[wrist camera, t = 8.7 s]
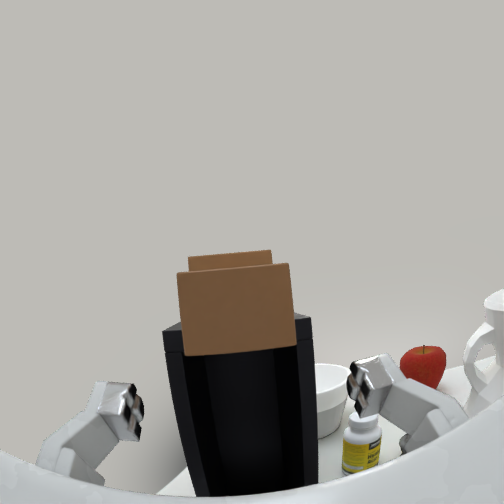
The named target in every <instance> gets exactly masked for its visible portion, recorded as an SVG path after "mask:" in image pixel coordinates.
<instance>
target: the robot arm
mask: <svg viewBox="0 0 504 504" xmlns="http://www.w3.org/2000/svg"><path fill="white" fill-rule="evenodd" d="M350 371H351V373H350V375H349V376H348V377H347V381H346V387H347V392H348V395H349V397H350V398H351V399H352V400H354V401H356V402H355V405H354V407H355V409H356V411H357V414H358V416H359V418H360V419H361V418H365V417H368V416H372V415H375V414H378V413H379V414H380V415H381V416H382V417H384V418H385V419H387V420H388V421H390V422H391V423H393V424H394V425H396V426H397V427H399V428H400V429H402V430H403V431H405V432H406V433H408V434H409V435H411V438H410V439H409V441H408V442H407V443H406V445H405V447H404V448H405V450H406V452H407V454H404V455H402V456H400V457H398V458H395V459H393V460H390V461H388V462H385V463H383V464H380V465H378V466H375V467H372V468H369V469H366V470H364V471H361V472H358V473H355V474H351V475H348V476H345V477H341V478H338V479H334V480H331V481H327V482H323V483H319V484H314V485H310V486H305V487H300V488H295V489H290V490H284V491H277V492H270V493H262V494H253V495H242V496H225V497H183V496H167V495H156V494H146V493H138V492H132V491H126V490H120V489H115V488H110V487H105V486H104V482H105V479H104V478H103V477H102V476H101V475H100V474H99V473H98V472H96V471H95V469H96V468H97V467H98V465H99V464H100V463H101V462H102V461H103V460H104V459H105V457H106V456H107V455H108V454H109V453H110V452H111V451H112V449H113V448H114V447H115V446H116V445H117V444H118V443H119V440H124V441H136V442H139V440H140V434H141V427H140V425H139V422H141V421H142V420H143V417H144V405H143V401H142V399H141V397H139V396H138V395H137V394H136V391H137V389H136V387H135V385H134V384H131V383H118V382H104V381H97V382H96V383H95V385H94V387H93V390H92V393H91V396H90V398H89V400H88V403H87V406H86V409H85V411H81V412H80V413H78V414H77V415H76V416H75V417H73V418H72V419H71V420H69V421H68V422H67V423H66V424H64V425H63V426H62V427H61V428H59V429H58V430H57V431H55V432H54V433H53V434H52V435H50V436H49V437H48V438H46V439H45V440H44V442H43V444H42V447H41V450H40V453H39V455H38V458H37V461H36V465H34V464H31V463H29V462H26V461H24V460H22V459H20V458H17V457H15V456H13V455H11V454H9V453H7V452H4V451H3V450H1V449H0V504H504V395H502V396H501V397H500V398H499V399H497V400H496V401H495V402H493V403H492V404H491V405H489V406H488V407H487V408H485V409H484V410H482V411H481V412H479V413H478V414H476V415H475V416H474V417H472V418H469V417H468V415H467V414H466V413H465V411H464V410H463V408H462V407H461V406H460V404H459V403H458V402H457V400H456V399H455V398H454V397H451V396H449V395H447V394H444V393H442V392H440V391H437V390H435V389H433V388H431V387H428V386H426V385H424V384H422V383H419V382H417V381H415V380H413V379H411V378H409V379H406V377H405V376H404V374H403V373H402V372H401V370H400V369H399V367H398V366H397V365H396V363H395V362H394V360H393V359H392V358H391V356H390V355H389V354H388V353H384V354H381V355H377V356H373V357H369V358H365V359H361V360H357V361H354V362H352V363H351V365H350Z"/></svg>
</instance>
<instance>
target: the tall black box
mask: <svg viewBox="0 0 504 504" xmlns="http://www.w3.org/2000/svg"><path fill="white" fill-rule="evenodd" d="M294 319H295V330H296V341H297V344H296V345H295V346H288V347H281V348H273V349H265V350H257V351H248V352H238V353H227V354H214V355H199V356H185V352H184V344H183V336H182V327H181V322H179V323H177V324H175V325H173V326H172V327H169V328H168V329H166V330H164V331H162V334H163V342H164V350H165V352H166V353H165V357H166V363H167V370H168V377H169V383H170V388H171V394H172V400H173V405H174V410H175V414H176V420H177V424H178V429H179V434H180V438H181V442H182V446H183V451H184V455H185V458H186V462H187V466H188V470H189V473H190V477H191V480H192V484H193V487H194V491H195V494H196V497H225V496H242V495H253V494H262V493H270V492H277V491H284V490H290V489H295V488H300V487H305V486H310V485H314V484H318V420H317V396H316V377H315V362H314V348H313V339H312V325H311V318H310V317H308V316H305V315H301V314H297V313H294Z"/></svg>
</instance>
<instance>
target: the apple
mask: <svg viewBox="0 0 504 504" xmlns="http://www.w3.org/2000/svg"><path fill="white" fill-rule="evenodd" d="M445 367H446V354H445V352H444V351H443V350H442V349H441V348H440V347H436V346H425V345H423V346H421V347H415V348H413V349H411V350H409V351H408V352H406V353H405V354H404V356H403V357H402V358H401V360H400V370H401V372H402V373H403V374H404V376H405V377H406V379H409V378H411V379H413V380H415V381H417V382H419V383H422V384H424V385H426V386H428V387H431V388H433V389H435V390H436V388H437V386H438V384H439V382H440V380H441V378H442V376H443V373H444V370H445Z"/></svg>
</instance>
